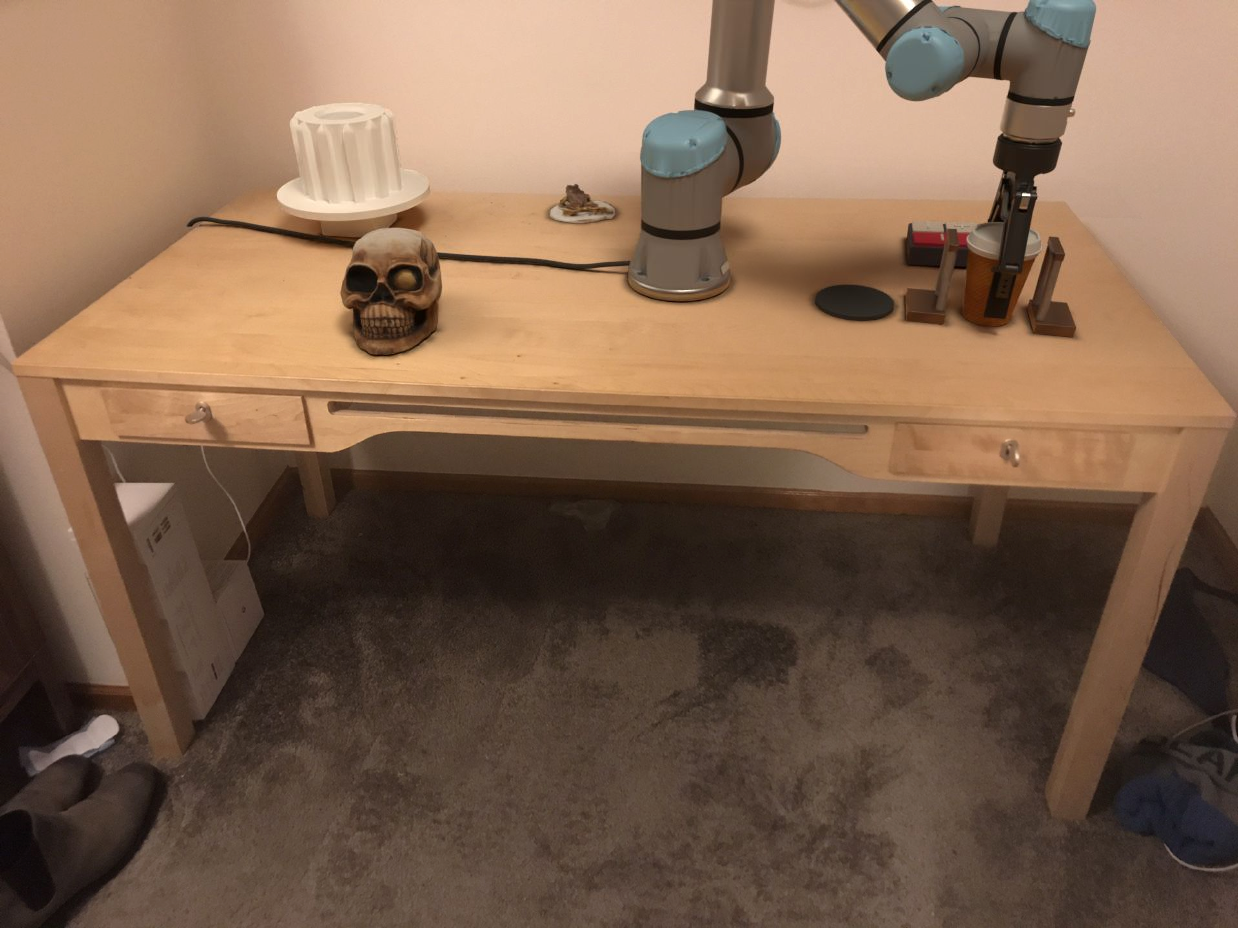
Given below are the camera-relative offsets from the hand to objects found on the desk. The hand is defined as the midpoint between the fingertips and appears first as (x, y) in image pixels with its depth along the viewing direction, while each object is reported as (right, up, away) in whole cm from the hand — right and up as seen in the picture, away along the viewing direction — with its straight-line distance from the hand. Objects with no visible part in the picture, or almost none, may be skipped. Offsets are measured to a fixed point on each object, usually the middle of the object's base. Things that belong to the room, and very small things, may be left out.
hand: (990, 298), depth 124 cm
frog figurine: (-58, +22, +38) cm, 73 cm away
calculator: (+2, +10, +20) cm, 22 cm away
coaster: (-17, 0, +5) cm, 18 cm away
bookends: (0, -2, +2) cm, 3 cm away
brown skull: (-82, -3, +1) cm, 82 cm away
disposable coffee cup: (0, -2, +2) cm, 3 cm away
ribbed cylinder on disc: (-96, +18, +32) cm, 103 cm away
